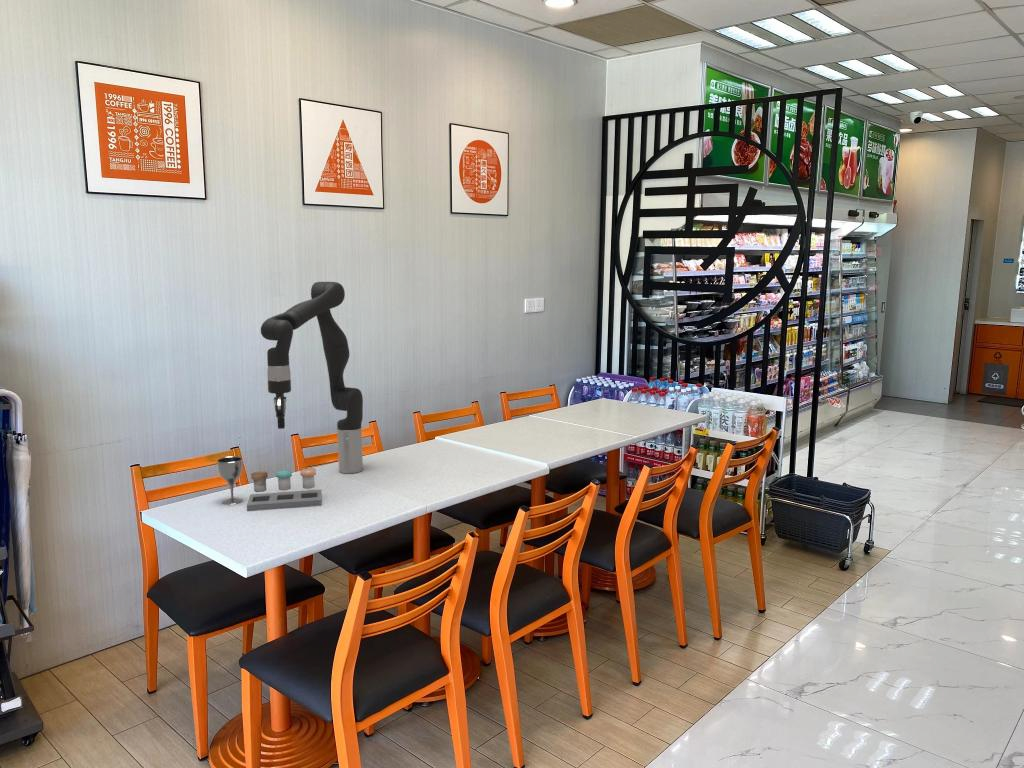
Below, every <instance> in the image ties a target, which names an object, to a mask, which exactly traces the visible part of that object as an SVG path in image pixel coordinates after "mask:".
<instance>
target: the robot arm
mask: <svg viewBox="0 0 1024 768" xmlns="http://www.w3.org/2000/svg"><path fill="white" fill-rule="evenodd" d="M345 295H346V292H345V289H344V287H343V285H342V284H341V283H340V282H336V281H315V282H314V283H313V284H312V286H311V287H310V297H311V299H308V300H305V301H301V302H299V303H297V304H295V305H293V306H291V307H290V308H289V309H287V310H286V311H284V312H282V313H279V314H276V315H273V316H272V317H269V318H267V319H266V320H265V321H263V323H262V324H261V327H260V333H261V336H262V337H263V339H265V340H268V341H277V342H276V345H275V346H274V347H271V348H268V349H267V352H266V356H267V374H266V375H267V392H268V393H269V394H275V397H274V398H273V404H274V412H275V417H276V420H277V429H278V430H283V429H285V427H286V424H285V423H286V422H285V420H286V419H285V417H286V409H287V396H285V394H288V393H291V392H292V379H291V369H290V368H291V367H290V355H289V354H290V350H291V344H292V342H293V341H292V340H293V335H294V331H295V330H298V329H299V328H300V327H302V326H303V325H304V324H306V323H307V322H309V321H310V320H312V319H313V318H316V319H317V322H318V327H319V331H320V336H321V341H322V347H323V352H324V357H325V361H326V367H327V373H328V381H329V392H330V401H331V404H332V407H333V408H334V409H335V410H337V411H341V412H342V411H344V412H346V417H345V418H343V419H340V420H338V421H337V423H336V427H337V428H336V430H337V450H338V472H340V473H342V474H357V473H361V472H363V470H364V462H363V461H364V460H363V458H364V457H363V439H362V438H363V437H362V435H363V434H362V422H363V418H364V417H363V415H364V414H363V412H364V411H363V410H364V409H363V406H364V405H363V404H364V400H363V399H364V397H363V394H362V391H361V390H360V389H359V388H357V387H347V386H346V384H345V380H344V372H345V369H346V368H347V367H346V366H347V364H348V362H349V358H350V347H349V342H348V338H347V336H346V334H345V332H344V330H342V329H341V327H340V326H339V325H338V323H337V322H336V321H335V319H334V317H333V315H332V312H331V310H332V309H334V308H336V307H338V306H341V304H342V303H343V301H344V300H345Z"/></svg>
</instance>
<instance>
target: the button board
mask: <svg viewBox="0 0 1024 768" xmlns="http://www.w3.org/2000/svg"><path fill="white" fill-rule="evenodd" d="M320 506H322V489H311V490H310V489H305V490H293V491H281V492H279V491H278V492H266V493H265V492H262V493H251V494H249V497H248V500H247V503H246V511H247V512H252V511H264V510H265V511H267V510H277V509H291V508H292V509H293V508H305V507H320Z"/></svg>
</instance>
